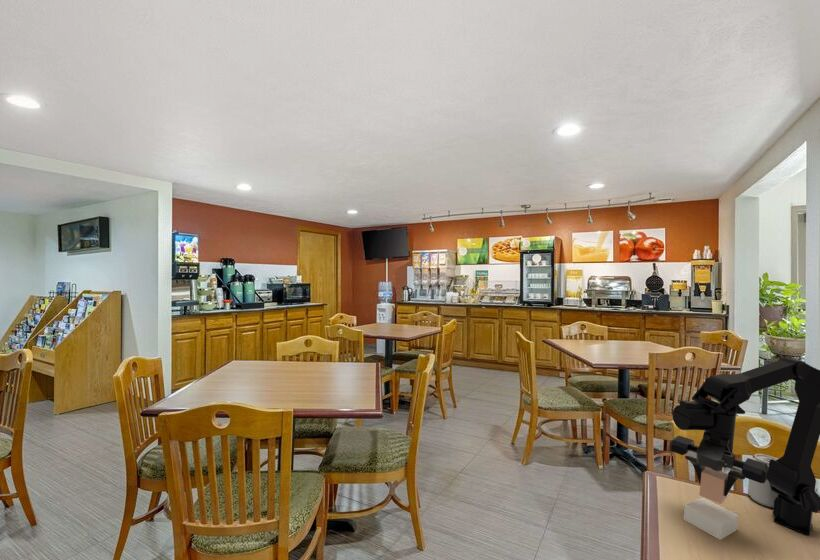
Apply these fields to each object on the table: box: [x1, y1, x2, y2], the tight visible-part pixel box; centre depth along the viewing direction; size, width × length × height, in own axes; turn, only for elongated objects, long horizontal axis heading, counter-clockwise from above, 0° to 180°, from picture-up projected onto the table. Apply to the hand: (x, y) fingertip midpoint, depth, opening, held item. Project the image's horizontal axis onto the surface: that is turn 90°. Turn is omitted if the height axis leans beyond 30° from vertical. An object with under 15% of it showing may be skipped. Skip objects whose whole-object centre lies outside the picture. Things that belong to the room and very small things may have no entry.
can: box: [747, 453, 779, 509], centre depth 110 cm, size 8×8×12 cm
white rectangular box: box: [683, 496, 739, 541], centre depth 99 cm, size 8×8×4 cm
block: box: [698, 466, 728, 505], centre depth 99 cm, size 4×4×6 cm
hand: (713, 490), depth 99 cm, fingers closed on block, 4 cm apart
